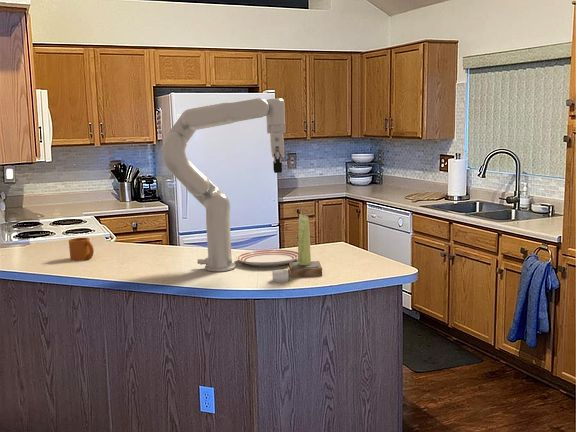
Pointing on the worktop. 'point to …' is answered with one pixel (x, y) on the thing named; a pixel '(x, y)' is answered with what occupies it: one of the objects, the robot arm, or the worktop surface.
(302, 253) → the tube
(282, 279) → the white dome
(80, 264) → the worktop surface
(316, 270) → the stand
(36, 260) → the worktop surface
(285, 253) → the dinner plate
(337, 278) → the worktop surface
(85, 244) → the mug
